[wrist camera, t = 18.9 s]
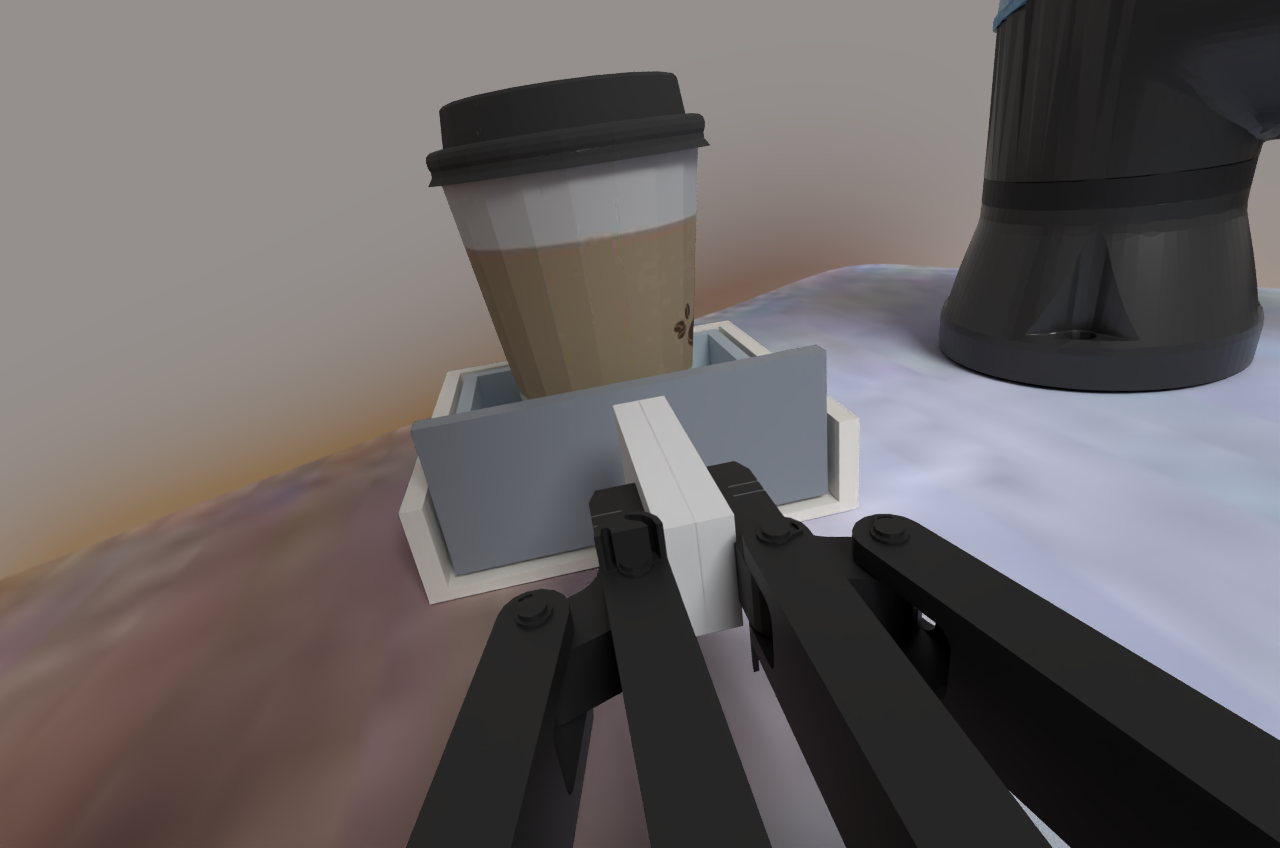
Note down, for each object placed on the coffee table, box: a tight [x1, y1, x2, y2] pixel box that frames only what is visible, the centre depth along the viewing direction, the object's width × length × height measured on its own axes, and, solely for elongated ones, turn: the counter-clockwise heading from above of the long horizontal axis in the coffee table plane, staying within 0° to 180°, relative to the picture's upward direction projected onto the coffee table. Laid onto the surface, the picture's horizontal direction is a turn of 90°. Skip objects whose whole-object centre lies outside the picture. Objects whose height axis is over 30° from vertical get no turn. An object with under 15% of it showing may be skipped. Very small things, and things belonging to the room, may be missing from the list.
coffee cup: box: [426, 72, 710, 401], centre depth 27 cm, size 11×11×15 cm
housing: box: [398, 320, 859, 604], centre depth 30 cm, size 17×16×4 cm
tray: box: [411, 329, 828, 575], centre depth 29 cm, size 15×14×6 cm
